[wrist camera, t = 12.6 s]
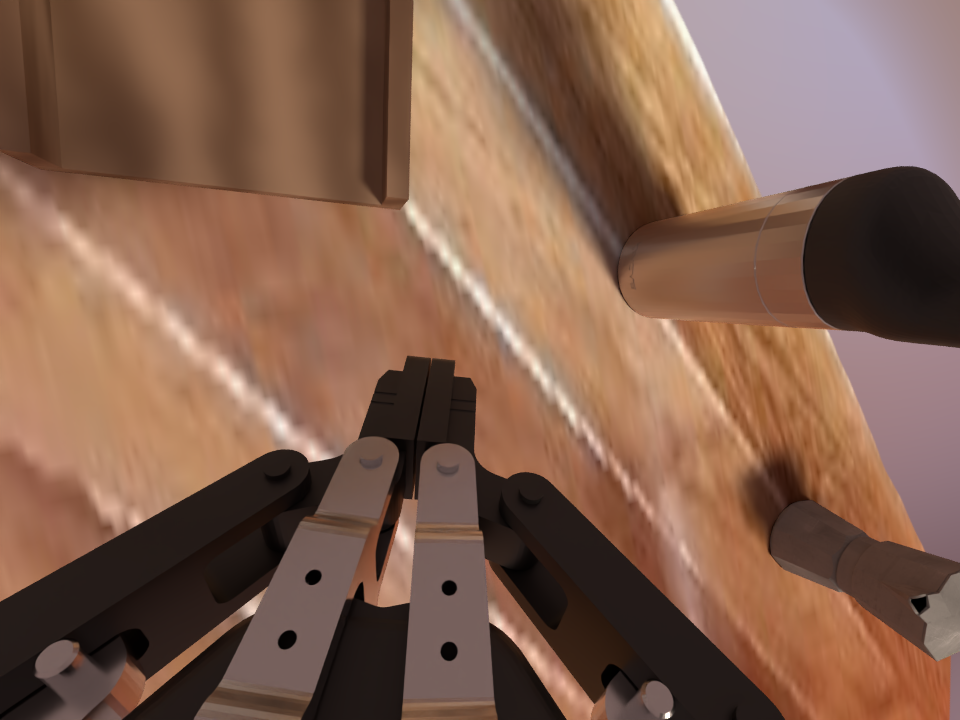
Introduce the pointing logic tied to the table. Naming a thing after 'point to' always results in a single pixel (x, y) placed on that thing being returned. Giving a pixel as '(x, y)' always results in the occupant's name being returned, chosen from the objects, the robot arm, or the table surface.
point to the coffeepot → (874, 575)
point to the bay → (214, 93)
